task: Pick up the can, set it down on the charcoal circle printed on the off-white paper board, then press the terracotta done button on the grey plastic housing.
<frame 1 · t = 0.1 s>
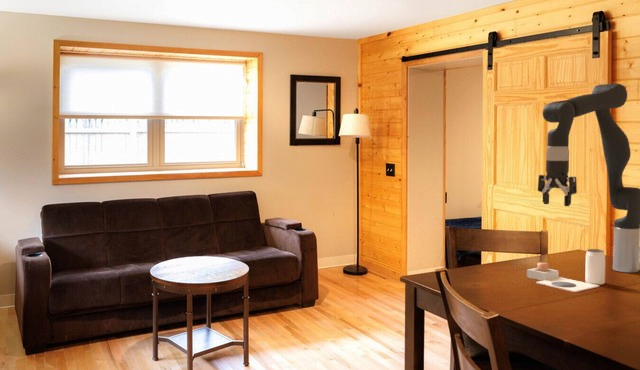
hand: (556, 205, 218), 29 cm above the table, fingers open, 8 cm apart
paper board: (567, 284, 221), on the table
done button: (542, 268, 232), point 4 cm above the table, slide at 0.0 cm
can: (594, 283, 224), on the table
button housing: (542, 277, 232), on the table
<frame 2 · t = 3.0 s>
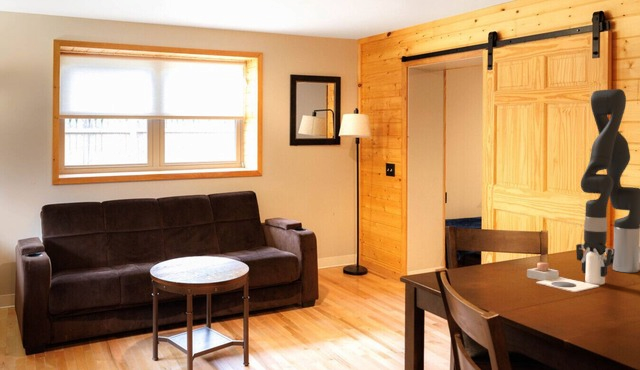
hand: (594, 274, 223), 3 cm above the table, fingers closed on can, 6 cm apart
can: (594, 283, 224), on the table, touching gripper
everything else where it was.
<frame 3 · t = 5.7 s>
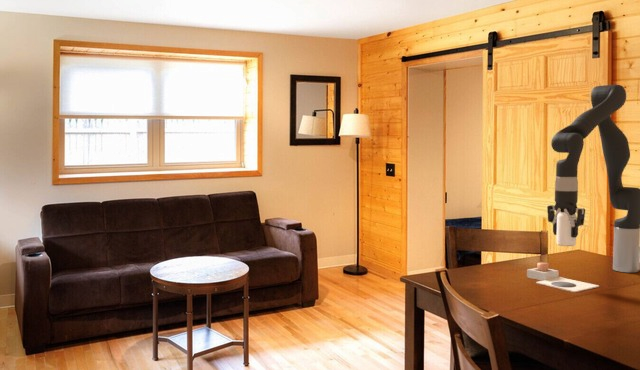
hand: (565, 235, 219), 18 cm above the table, fingers closed on can, 6 cm apart
can: (566, 245, 219), point 15 cm above the table, touching gripper
everything else where it was.
when the fingers open (5 cm above the table, at t = 8.6 s): can stays where it is, resting on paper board.
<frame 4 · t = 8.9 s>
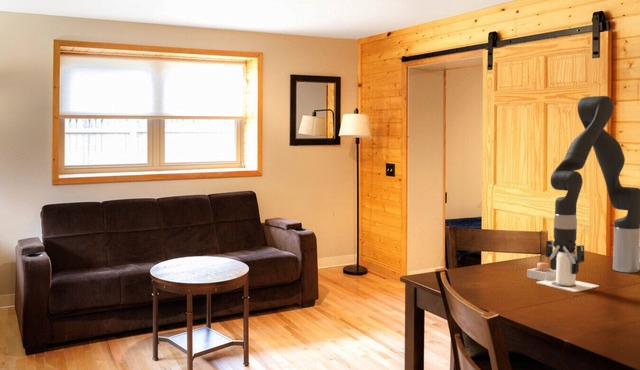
hand: (564, 271, 220), 5 cm above the table, fingers open, 8 cm apart
can: (565, 284, 220), resting on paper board
everything else where it was.
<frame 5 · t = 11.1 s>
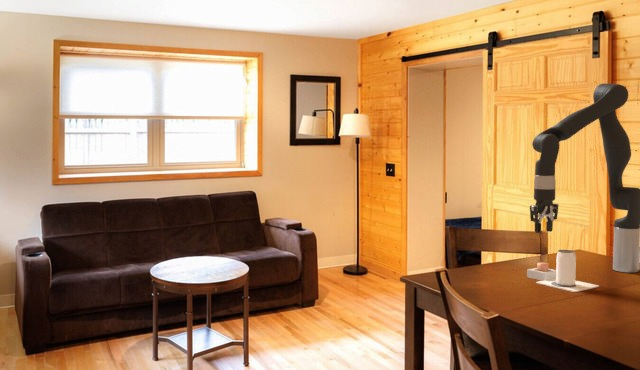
hand: (543, 231, 231), 18 cm above the table, fingers open, 6 cm apart
nothing on the table moved.
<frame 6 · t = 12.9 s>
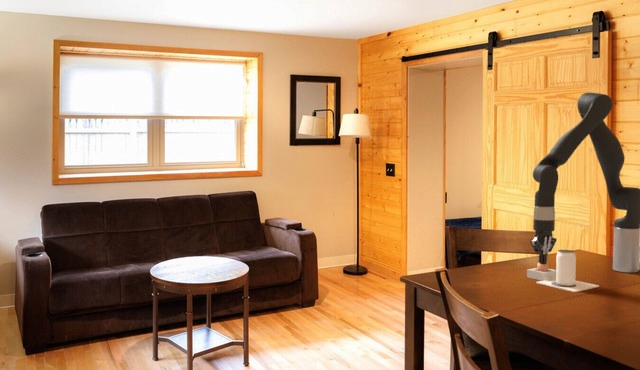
hand: (542, 263, 232), 5 cm above the table, fingers closed
done button: (542, 268, 232), point 3 cm above the table, slide at 0.0 cm, touching gripper
everything else where it was.
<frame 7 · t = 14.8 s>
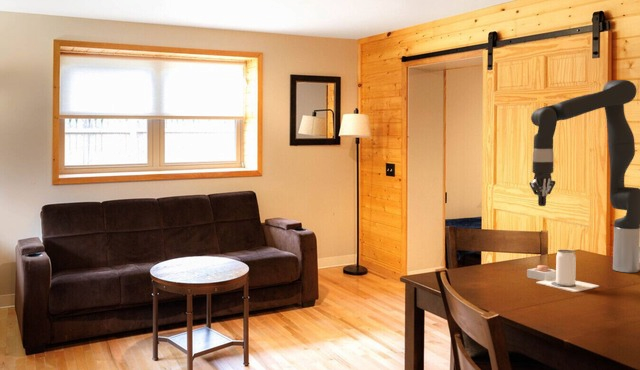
hand: (542, 205, 236), 27 cm above the table, fingers closed
done button: (542, 271, 232), point 2 cm above the table, slide at 1.0 cm
everything else where it was.
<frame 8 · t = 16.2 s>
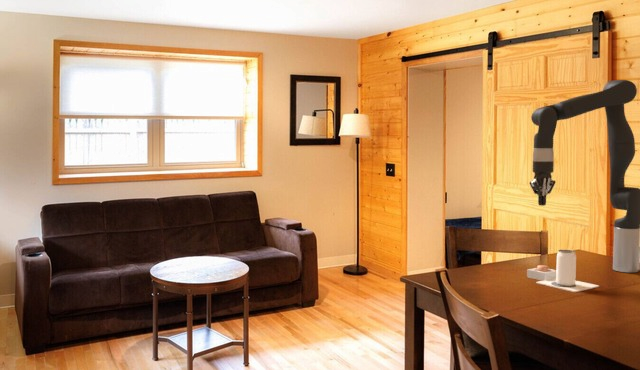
hand: (542, 205, 236), 27 cm above the table, fingers closed
nothing on the table moved.
at the end: can 0.7 cm from the target spot on the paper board, point 0.3 cm above the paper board's base; can tilted 0°; done button slide at 1.0 cm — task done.
